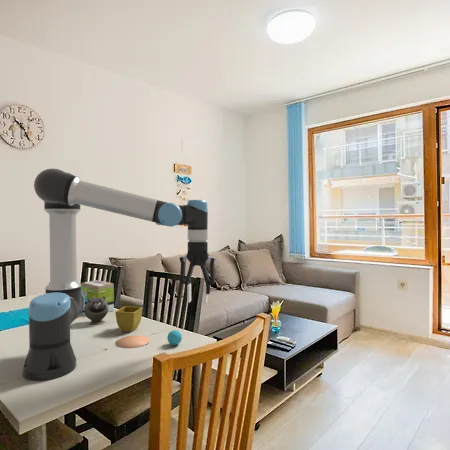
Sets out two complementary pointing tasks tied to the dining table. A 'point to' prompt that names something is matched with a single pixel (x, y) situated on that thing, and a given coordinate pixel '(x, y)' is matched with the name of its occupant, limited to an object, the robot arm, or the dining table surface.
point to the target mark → (132, 341)
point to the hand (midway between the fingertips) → (197, 302)
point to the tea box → (99, 292)
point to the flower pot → (128, 318)
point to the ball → (174, 337)
